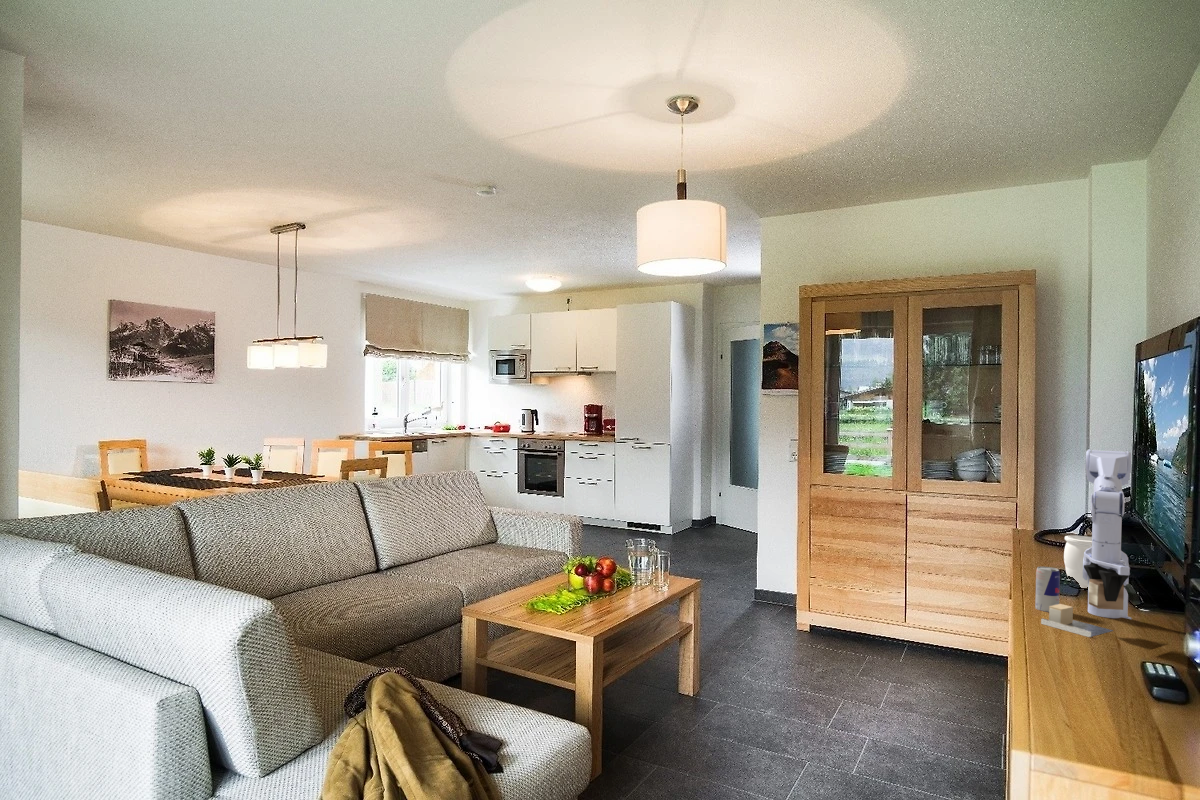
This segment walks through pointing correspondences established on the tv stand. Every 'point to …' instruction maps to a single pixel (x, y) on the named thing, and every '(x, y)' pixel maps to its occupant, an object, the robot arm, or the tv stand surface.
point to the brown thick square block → (1098, 596)
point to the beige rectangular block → (1061, 614)
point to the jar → (1076, 557)
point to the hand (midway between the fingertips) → (1104, 598)
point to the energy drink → (1047, 588)
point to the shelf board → (1077, 627)
